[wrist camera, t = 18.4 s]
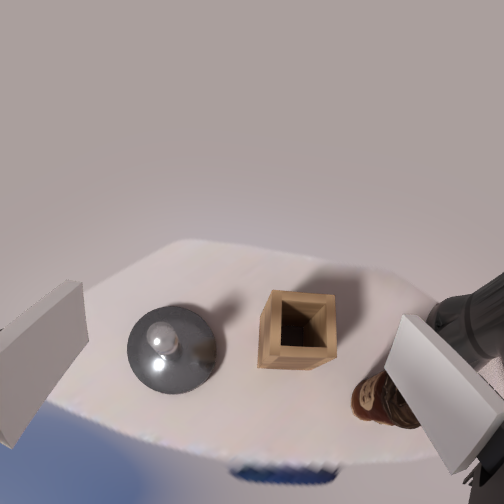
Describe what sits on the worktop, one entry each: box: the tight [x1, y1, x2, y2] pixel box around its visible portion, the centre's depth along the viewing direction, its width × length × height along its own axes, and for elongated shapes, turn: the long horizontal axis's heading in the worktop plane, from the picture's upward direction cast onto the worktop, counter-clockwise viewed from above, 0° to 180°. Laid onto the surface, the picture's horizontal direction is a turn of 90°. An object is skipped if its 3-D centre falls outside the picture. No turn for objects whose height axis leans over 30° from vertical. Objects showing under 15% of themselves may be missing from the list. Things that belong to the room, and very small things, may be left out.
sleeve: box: [257, 290, 337, 370], centre depth 36 cm, size 7×7×10 cm
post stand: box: [127, 306, 216, 394], centre depth 34 cm, size 12×12×9 cm
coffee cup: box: [351, 370, 421, 429], centre depth 32 cm, size 9×8×13 cm
